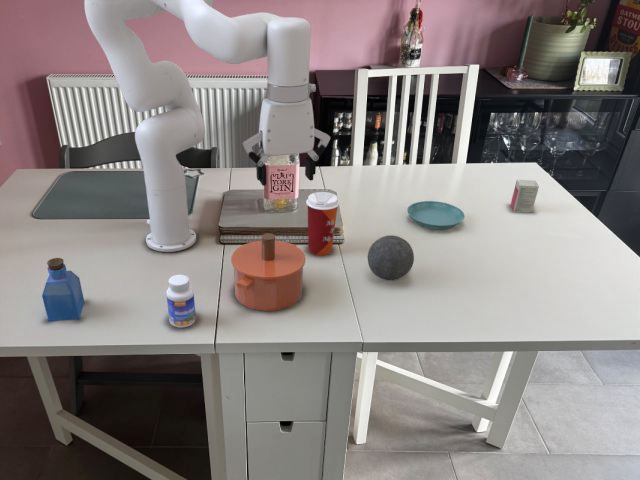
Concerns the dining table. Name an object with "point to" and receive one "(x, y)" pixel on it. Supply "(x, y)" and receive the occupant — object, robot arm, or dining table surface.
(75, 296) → the perfume bottle
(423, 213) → the saucer
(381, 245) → the decorative ball
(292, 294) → the orange cooking pot
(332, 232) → the paper cup
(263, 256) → the lid
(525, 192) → the small box
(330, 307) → the dining table surface
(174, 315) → the pill bottle
